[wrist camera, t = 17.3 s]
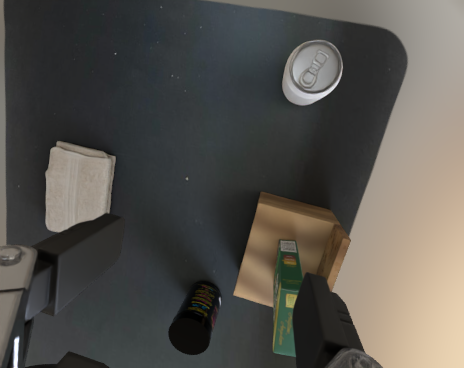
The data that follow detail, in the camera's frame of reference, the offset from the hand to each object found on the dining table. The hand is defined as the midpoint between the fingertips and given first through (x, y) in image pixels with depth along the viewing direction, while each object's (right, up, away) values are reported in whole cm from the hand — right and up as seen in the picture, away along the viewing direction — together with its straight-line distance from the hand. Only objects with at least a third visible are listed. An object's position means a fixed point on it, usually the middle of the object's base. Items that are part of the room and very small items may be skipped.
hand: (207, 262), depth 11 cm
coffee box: (+9, -8, +29) cm, 31 cm away
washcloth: (-27, +2, +39) cm, 48 cm away
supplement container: (-4, -18, +40) cm, 44 cm away
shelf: (+10, -7, +35) cm, 37 cm away
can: (+12, +19, +29) cm, 37 cm away
